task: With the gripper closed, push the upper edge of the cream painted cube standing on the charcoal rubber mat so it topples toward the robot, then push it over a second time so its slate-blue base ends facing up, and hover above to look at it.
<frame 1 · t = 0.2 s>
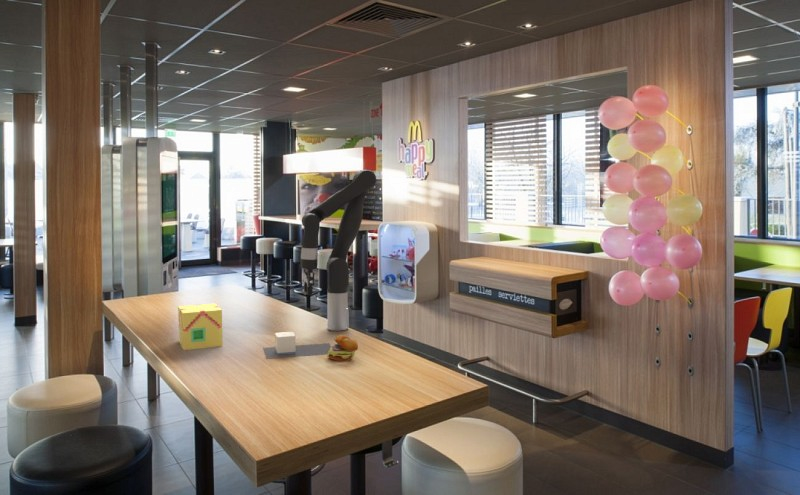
hand: (308, 293, 263), 17 cm above the table, fingers open, 8 cm apart
toy block: (200, 344, 242), on the table
cream cube: (285, 351, 230), resting on rubber mat
cheeseburger: (342, 359, 223), on the table
rubber mat: (299, 351, 232), on the table
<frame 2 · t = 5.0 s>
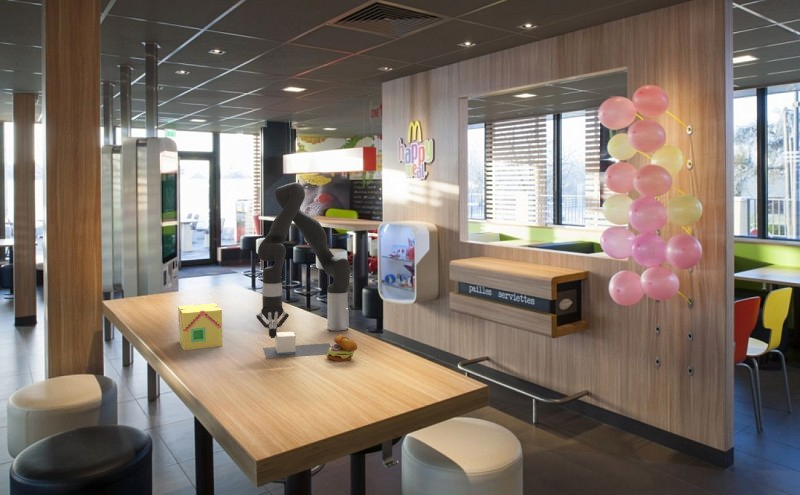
hand: (272, 337, 228), 6 cm above the table, fingers closed
cream cube: (285, 351, 230), resting on rubber mat, touching gripper
everything else where it was.
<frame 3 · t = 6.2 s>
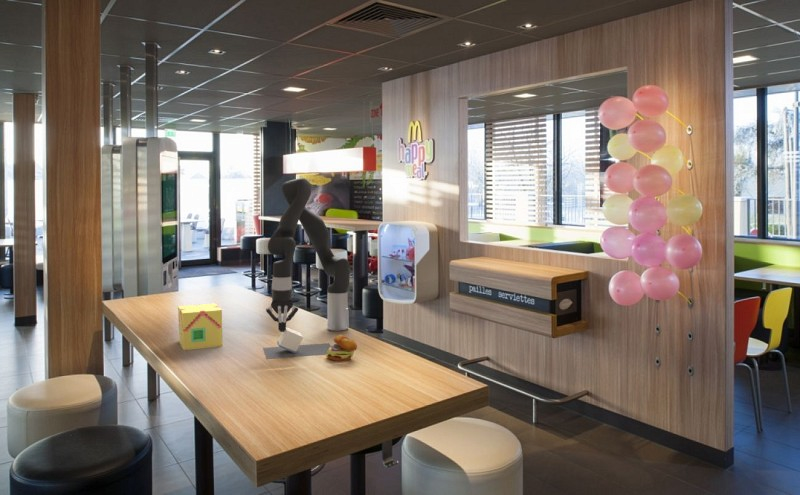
hand: (282, 331, 229), 9 cm above the table, fingers closed
cream cube: (286, 347, 230), point 2 cm above the table, tilted 26°, touching gripper, rubber mat
everything else where it was.
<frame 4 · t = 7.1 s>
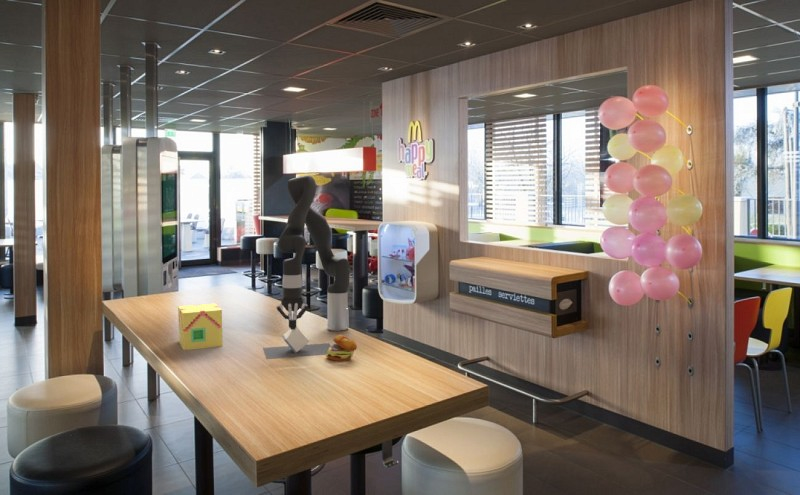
hand: (292, 328, 230), 9 cm above the table, fingers closed
cream cube: (288, 344, 230), point 3 cm above the table, tilted 52°, touching gripper, rubber mat
everything else where it was.
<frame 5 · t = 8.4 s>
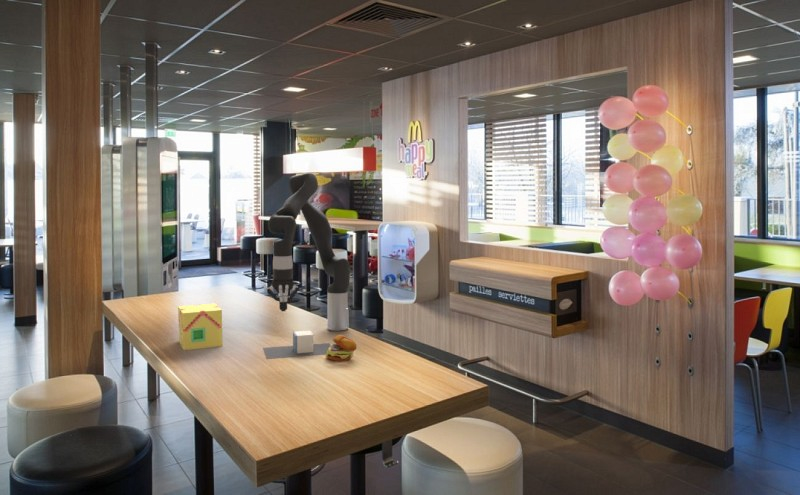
hand: (283, 311, 228), 17 cm above the table, fingers closed
cream cube: (294, 342, 231), point 4 cm above the table, tilted 90°, touching rubber mat
everything else where it was.
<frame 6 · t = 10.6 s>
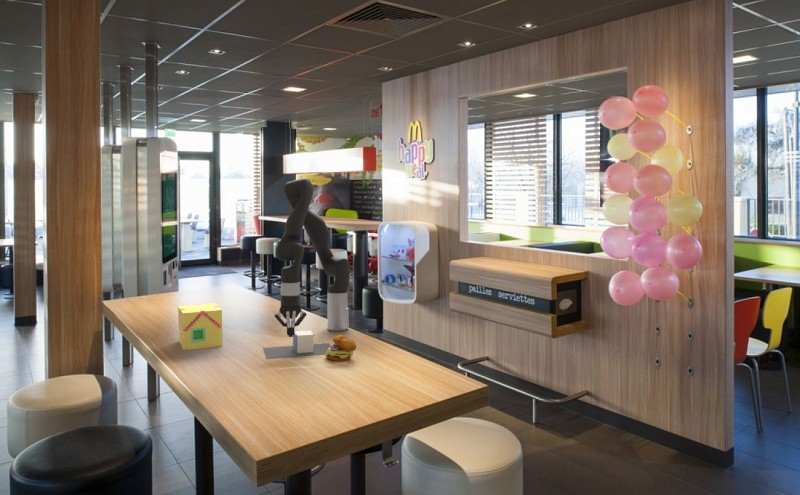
hand: (290, 336, 230), 6 cm above the table, fingers closed
cream cube: (294, 342, 231), point 4 cm above the table, tilted 91°, touching gripper, rubber mat
everything else where it was.
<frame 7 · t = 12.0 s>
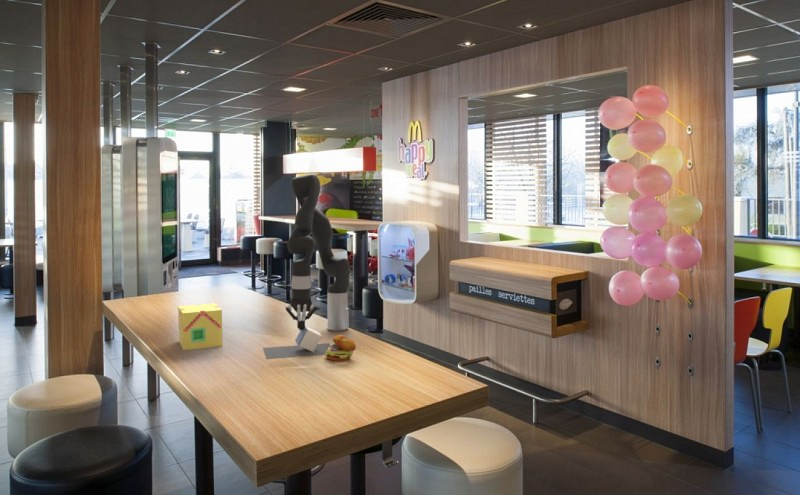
hand: (301, 329, 231), 9 cm above the table, fingers closed
cream cube: (300, 334, 231), point 7 cm above the table, tilted 119°, touching gripper, rubber mat
everything else where it was.
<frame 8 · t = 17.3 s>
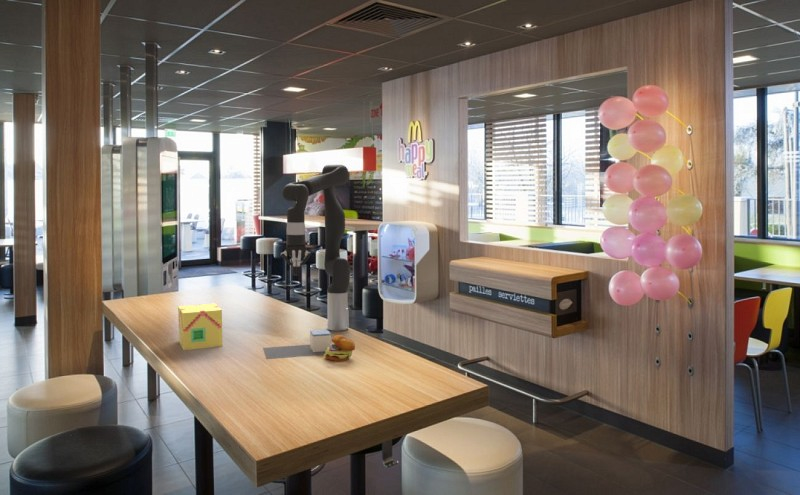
hand: (296, 275, 239), 29 cm above the table, fingers closed
cream cube: (320, 332, 233), point 7 cm above the table, tilted 180°, touching rubber mat
at the end: cream cube tilted 180°; cream cube inside the target area (0.0 cm from its centre), point 7.3 cm above the table; cream cube moved 15.7 cm from its start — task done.
